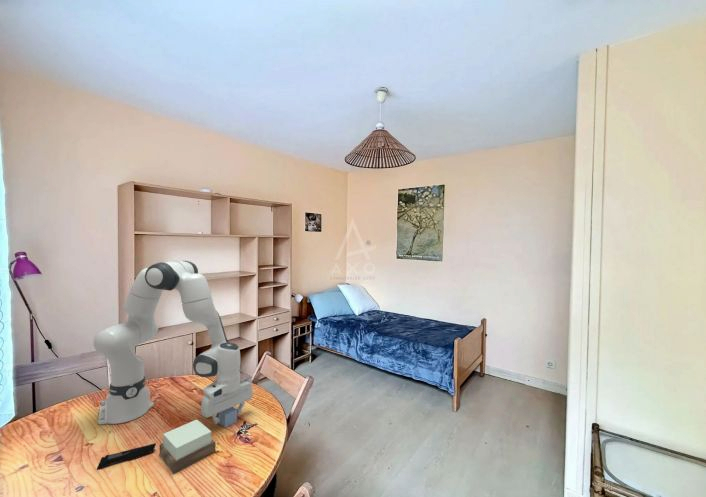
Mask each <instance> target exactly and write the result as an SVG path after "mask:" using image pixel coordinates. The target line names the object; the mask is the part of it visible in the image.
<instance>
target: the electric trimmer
mask: <svg viewBox="0 0 706 497" xmlns="http://www.w3.org/2000/svg"><path fill="white" fill-rule="evenodd" d="M156 445H157V442H155V443H151V444H147V445H144V446H139V447H134V448H131V449H129V450H128V449H127V450H122V451H120V452H116V453H112V454H106V455H105V456H102V457H101V458H100V460H99V462H98V466H97V468H96V470H101V469H103V468H104V467H108V466H111V465H113V464H118V463H119V462H124V461H127V460H129V461H132V460H134V459H138V458H140V457H143V456H145V455H147V454H151V453H152V452H154V451H155V448H156Z"/></svg>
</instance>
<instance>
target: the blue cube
mask: <svg viewBox="0 0 706 497" xmlns="http://www.w3.org/2000/svg"><path fill="white" fill-rule="evenodd" d="M218 418H219V423H218V424H220V425H221V426H222V427H224V428H227V427H230V426H231V425H234V424H236V423H237V422H238V413H237V408H235V406H233V407H231V408H228V409H226V410H224V411H221V412H219V413H218Z"/></svg>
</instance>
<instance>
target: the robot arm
mask: <svg viewBox="0 0 706 497" xmlns="http://www.w3.org/2000/svg"><path fill="white" fill-rule="evenodd" d="M174 289H175V291H177V292H178V293H179V295H180V302H181V307H182V312H183V315H184V316H185V318H186V319H187V320H189V321H191V322H192V323H196V324H202V325H203V326H205V327H206V329H207V332H208V336H209V339H210V342H211V347H210V348H209V349H207V350H204V351H203V352H202V353H200V354H198V355H197V356H195V358H194V359H193V361H192V369H193V371H194V373H195V374H196V376H199V377H201V378H210V377H214V376H215V377H216V380H215V381H213V382H211V383H210V384H209V385H207V386H206V387H205V388H204V389H203V394H204V395H203V397H202V400H201V405H200V414H201V415H202V417H204V418H209V417H211V418H213V424H214V425H217V424H220V423H219V416H217V414H219V412H221V411H224V410H226V409H228V408H231V407H235V406H237V405H239V406H238V407H237V408H236V409H237V415H240V414H241V413H242V412H243V407H244V406H245V402H247V401H248V400H251V399H252V398H253V396H254V393H253V386H252V384H253V379H252V378H251V376H247V377H244V378H241V372H240V367H241V351H240V347H239V345H238V344H236V343H234V342H231V341H229V340H228V338H227V335H226V331H225V328H224V325H223V322H222V318H221V316H220V314H219V312H218V311H217V309H216V307H215V304H214V301H213V296H212V293H211V292H212V291H211V288H210V285H209V283H208V280H207V278H206V277H205V275H204V274H201V273H199V268H198V267H197V265H196V264H195V263H194V262H192V261H188V260H169V261H164V262H162V261H161V262H157V263H154V264H152V265H150V266H149V267H144V268H143V269H141V270H140V272H139V273H138V274H137V276H136V277H135V279H134V281H133V282H132V285H131V287H130V289H129V292H128V294H127V296H126V298H125V302H124V303H123V311H125V313H126V315H128V317H127V320H125V321H124V322H122V323H121V322H120V323H119V324H115V325H112V326H111V325H110V326H109V327H107V328H105V329H103V330H100V331H99V332H98V333H97V334H95V336H94V338H93V347H94V351H95V352H97V353H98V354H99V355H102V356H104V357H105V358H106V359H107V361H108V363H109V366H110V384H109V387H108V393H107V395H106V398H105V399H104V400H101V401H100V407H99V411H98V419H97V420H98V421H97V425H106V424H108V425H109V424H111V425H117V424H123V423H126V422H130V421H134V420H136V419H138V418H139V417H142V416H144V415H145V414H146V413H147V412H148V410H150V409H151V408H152V407H154V406H155V404H154V402H153V401H151V399H150V388H149V387H147V386H146V376H145V359H144V358H143V357H141V356H140V355H137V354H136V351H135V350H136V349H135V348H136V347H137V346H139V345H141V344H144V343H146V342H148V341H150V340H151V339H153V338H154V337H155V336H156V335H157V333H158V331H159V325H158V322H157V320H155V313H156V312H155V311H156V309H157V306H158V303H159V301H160V298H161V295H162V293H163V291H173V290H174Z"/></svg>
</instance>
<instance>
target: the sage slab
mask: <svg viewBox="0 0 706 497" xmlns="http://www.w3.org/2000/svg"><path fill="white" fill-rule="evenodd" d="M211 438H212V430H210V429H209V428H208V427H207V426H206V425H204V424H203V423H202V422H201V421H200V420H198V419H195V420H192V421H190V422H188V423H185V424H183V425H180V426H178V427H177V428H173V429H172V430H169V431H167V432H164V433H163V434H162V443H163V446H164V448H165V449H166V450H167V451H168V452H169V453H170V454H171V456H172V457H173V458H174V459H175V460H176V461H177V460H179V459H181V458H183V457H185V456H187V455H189V454H191V453H193V452H195V451H196V450H198V449H200V448H202V447H204V446H206V445H208V444H210V443H211Z"/></svg>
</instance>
